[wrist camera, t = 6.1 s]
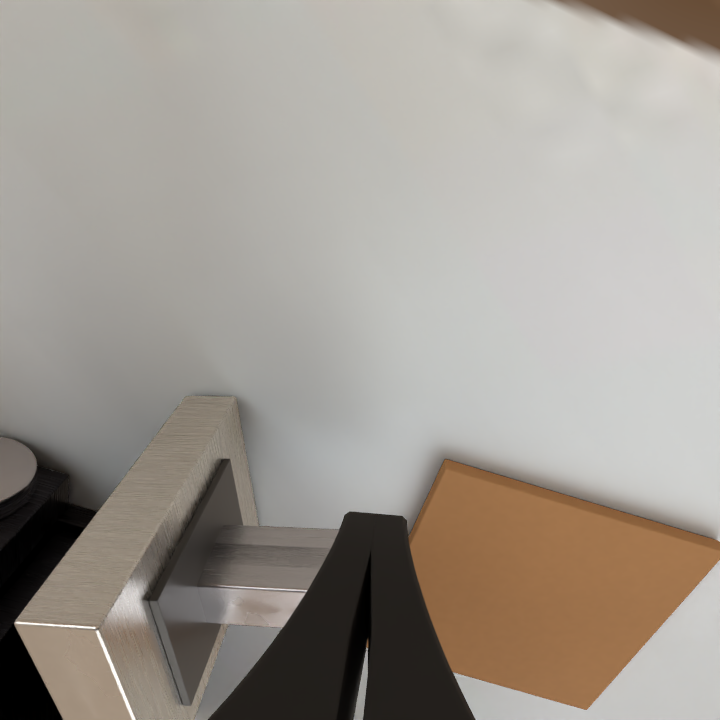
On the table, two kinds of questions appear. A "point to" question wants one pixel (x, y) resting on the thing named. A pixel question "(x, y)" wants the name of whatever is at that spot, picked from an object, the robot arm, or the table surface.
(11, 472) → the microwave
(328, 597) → the robot arm
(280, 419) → the table surface
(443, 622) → the mat
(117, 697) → the grey hollow rectangular piece
